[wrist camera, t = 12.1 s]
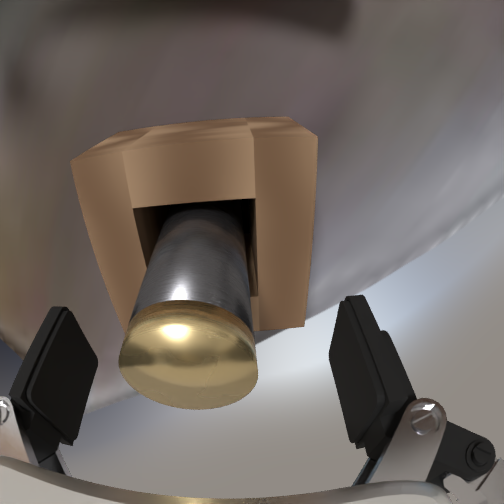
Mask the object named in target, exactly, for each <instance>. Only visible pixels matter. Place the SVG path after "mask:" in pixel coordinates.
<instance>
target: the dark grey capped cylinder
mask: <svg viewBox="0 0 504 504" xmlns="http://www.w3.org/2000/svg"><path fill="white" fill-rule="evenodd" d="M119 368H120V371H121V374H122V376H123V377H124V379H125V380H126V381H127V382H128V384H129V385H130V386H131V387H132V388H134V389H135V390H136V391H137V392H139V393H140V394H142V395H144V396H145V397H147V398H149V399H151V400H153V401H156V402H158V403H161V404H164V405H168V406H172V407H177V408H182V409H198V410H200V409H212V408H218V407H222V406H226V405H229V404H232V403H235V402H237V401H239V400H240V399H242V398H243V397H245V396H246V395H247V394H249V393H250V392H251V391H252V389H253V388H254V387H255V385H256V383H257V379H258V369H257V359H256V350H255V340H254V330H253V320H252V311H251V301H250V291H249V281H248V271H247V261H246V251H245V241H244V231H243V221H242V211H241V201H240V199H232V200H217V201H204V202H191V203H180V204H172V205H171V207H170V210H169V212H168V214H167V217H166V219H165V222H164V224H163V227H162V230H161V232H160V235H159V237H158V240H157V243H156V245H155V248H154V251H153V253H152V256H151V259H150V261H149V264H148V267H147V270H146V273H145V276H144V278H143V281H142V284H141V287H140V290H139V293H138V296H137V299H136V302H135V305H134V308H133V311H132V315H131V318H130V321H129V324H128V328H127V331H126V334H125V338H124V341H123V344H122V348H121V351H120V355H119Z"/></svg>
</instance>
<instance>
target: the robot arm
mask: <svg viewBox="0 0 504 504" xmlns="http://www.w3.org/2000/svg"><path fill="white" fill-rule="evenodd" d="M329 361H330V365H331V369H332V373H333V377H334V380H335V384H336V388H337V392H338V396H339V400H340V404H341V408H342V412H343V416H344V420H345V424H346V428H347V432H348V437H349V440H350V442H351V443H355V445H356V449H359V448H364V447H365V449H366V453H367V456H368V457H369V458H368V460H367V461H366V463H365V465H364V467H363V468H362V470H361V472H360V473H359V475H358V477H357V478H356V480H355V481H354V483H353V485H352V486H351V487H345V488H339V489H333V490H327V491H321V492H315V493H307V494H299V495H289V496H279V497H266V498H245V499H208V498H188V497H176V496H165V495H157V494H150V493H142V492H136V491H130V490H125V489H119V488H114V487H109V486H105V485H100V484H96V483H92V482H88V481H84V480H80V479H76V478H73V477H72V475H71V473H70V471H69V469H68V467H67V465H66V463H65V461H64V459H63V457H62V454H61V452H60V450H59V447H58V446H59V442H61V443H62V444H66V445H70V446H73V441H74V440H75V439H76V438H77V436H78V433H79V429H80V425H81V421H82V417H83V414H84V410H85V406H86V403H87V399H88V396H89V393H90V389H91V386H92V383H93V379H94V376H95V373H96V370H97V367H98V359H97V356H96V355H95V353H94V351H93V350H92V348H91V346H90V344H89V343H88V341H87V339H86V337H85V335H84V334H83V332H82V330H81V328H80V326H79V324H78V323H77V321H76V319H75V317H74V315H73V313H72V312H71V311H69V309H68V308H67V307H54V306H53V307H52V308H51V309H50V310H49V312H48V314H47V316H46V318H45V319H44V321H43V323H42V325H41V327H40V329H39V331H38V333H37V334H36V336H35V338H34V340H33V342H32V344H31V346H30V348H29V350H28V352H27V354H26V357H25V359H24V361H23V363H22V365H21V367H20V369H19V372H18V374H17V376H16V378H15V381H14V383H13V385H12V388H11V390H10V393H9V395H10V396H11V400H9V399H8V398H6V397H1V396H0V504H452V501H451V499H450V498H449V496H448V495H447V493H450V492H451V493H452V494H453V495H454V496H455V497H456V498H457V502H458V503H459V504H504V460H503V459H501V458H500V459H496V458H495V457H496V455H495V449H494V447H493V444H492V443H491V442H490V441H489V440H487V439H486V438H484V437H482V436H480V435H477V434H475V433H473V432H471V431H468V430H466V429H464V428H462V427H460V426H457V425H455V424H453V423H451V422H449V421H447V417H446V413H445V411H444V408H443V407H442V406H441V405H440V404H439V403H438V402H436V401H434V400H432V399H428V398H420V399H417V398H416V395H415V393H414V390H413V388H412V386H411V383H410V381H409V379H408V376H407V374H406V371H405V369H404V367H403V365H402V362H401V360H400V358H399V356H398V353H397V351H396V348H395V346H394V344H393V342H392V340H391V337H390V336H389V334H388V333H387V332H386V331H384V330H383V331H380V329H379V326H378V324H377V322H376V320H375V318H374V315H373V313H372V311H371V309H370V307H369V305H368V303H367V301H366V299H365V297H364V296H363V295H355V296H346V298H345V300H344V301H341V302H340V304H339V309H338V314H337V319H336V323H335V328H334V332H333V337H332V341H331V345H330V350H329Z"/></svg>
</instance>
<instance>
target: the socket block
mask: <svg viewBox="0 0 504 504" xmlns="http://www.w3.org/2000/svg"><path fill="white" fill-rule="evenodd" d="M317 148H318V137H317V136H316V135H314V134H313V133H311V132H310V131H309V130H307V129H306V128H304V127H303V126H301V125H300V124H298V123H297V122H295V121H294V120H292V119H291V118H289V117H253V118H233V119H218V120H206V121H195V122H186V123H177V124H169V125H161V126H154V127H147V128H141V129H135V130H129V131H123V132H118V133H116V134H115V135H113V136H111V137H109V138H108V139H106V140H104V141H102V142H101V143H99V144H97V145H96V146H94V147H92V148H91V149H89V150H87V151H86V152H84V153H82V154H81V155H79V156H78V157H76V158H75V159H73V160H71V161H70V163H71V168H72V173H73V177H74V181H75V186H76V190H77V194H78V198H79V202H80V206H81V209H82V213H83V217H84V220H85V224H86V227H87V231H88V234H89V237H90V241H91V244H92V247H93V250H94V253H95V256H96V259H97V262H98V265H99V268H100V271H101V274H102V277H103V279H104V282H105V285H106V287H107V290H108V293H109V295H110V298H111V301H112V303H113V306H114V308H115V311H116V313H117V316H118V318H119V320H120V323H121V325H122V327H123V330H124V332H125V334H126V331H127V328H128V324H129V321H130V318H131V315H132V311H133V308H134V305H135V302H136V299H137V296H138V293H139V290H140V287H141V284H142V281H143V278H144V276H145V273H146V270H147V267H148V264H149V261H150V259H151V256H152V253H153V251H154V248H155V245H156V243H157V240H158V237H159V235H160V232H161V230H162V227H163V224H164V222H165V219H166V217H167V214H168V212H169V208H168V205H169V204H180V203H191V202H204V201H217V200H232V199H247V198H248V199H249V222H250V233H249V234H244V241H245V251H246V261H247V271H248V281H249V291H250V301H251V311H252V320H253V330H254V331H263V330H275V329H286V328H296V327H304V324H305V315H306V306H307V296H308V286H309V276H310V265H311V253H312V240H313V227H314V212H315V194H316V174H317Z"/></svg>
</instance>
